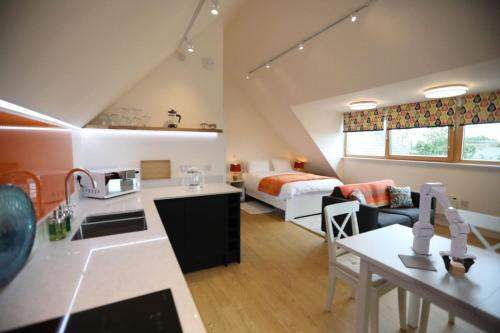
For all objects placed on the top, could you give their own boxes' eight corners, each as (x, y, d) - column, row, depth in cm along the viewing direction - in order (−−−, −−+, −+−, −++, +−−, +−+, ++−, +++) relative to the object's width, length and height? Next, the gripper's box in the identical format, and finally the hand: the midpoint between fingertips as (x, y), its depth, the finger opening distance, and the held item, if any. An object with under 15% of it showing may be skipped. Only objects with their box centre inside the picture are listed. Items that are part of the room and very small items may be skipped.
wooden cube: (447, 270, 122) (448, 261, 122) (458, 272, 121) (459, 262, 120) (452, 275, 118) (453, 266, 117) (464, 277, 116) (465, 268, 116)
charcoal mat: (398, 255, 139) (398, 254, 139) (425, 258, 135) (425, 257, 135) (406, 267, 126) (406, 266, 126) (437, 271, 122) (437, 270, 121)
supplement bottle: (451, 256, 137) (453, 238, 136) (465, 259, 133) (467, 240, 132) (451, 260, 132) (453, 241, 131) (466, 264, 128) (468, 244, 127)
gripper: (445, 246, 116) (442, 272, 117) (481, 250, 112) (478, 277, 113) (438, 241, 123) (436, 265, 124) (472, 244, 118) (469, 269, 120)
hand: (456, 270), depth 119 cm, fingers open, 7 cm apart
